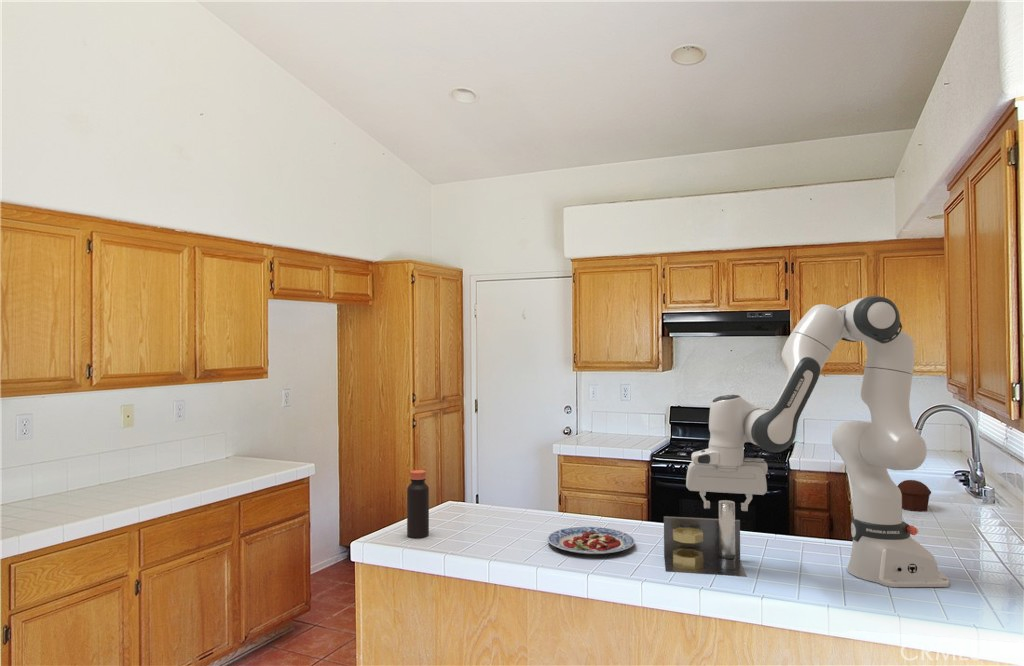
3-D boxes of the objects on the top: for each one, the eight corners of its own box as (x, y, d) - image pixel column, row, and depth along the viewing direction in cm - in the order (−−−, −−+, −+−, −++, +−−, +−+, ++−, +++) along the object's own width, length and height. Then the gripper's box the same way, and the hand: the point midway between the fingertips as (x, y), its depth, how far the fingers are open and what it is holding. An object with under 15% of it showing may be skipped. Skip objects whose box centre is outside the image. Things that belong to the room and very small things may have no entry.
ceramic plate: (584, 528, 214) (584, 519, 214) (652, 546, 196) (652, 536, 196) (529, 546, 196) (529, 536, 196) (598, 567, 178) (598, 555, 178)
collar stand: (739, 564, 179) (739, 519, 179) (747, 581, 166) (746, 533, 166) (664, 559, 183) (663, 516, 183) (665, 576, 170) (665, 529, 170)
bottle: (422, 539, 202) (422, 474, 203) (403, 537, 205) (403, 472, 205) (432, 533, 209) (432, 470, 209) (413, 531, 211) (413, 468, 211)
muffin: (891, 503, 245) (890, 477, 245) (924, 505, 242) (924, 478, 243) (901, 511, 234) (900, 483, 234) (936, 513, 231) (936, 485, 231)
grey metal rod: (734, 564, 175) (733, 500, 175) (736, 570, 171) (736, 504, 171) (718, 563, 176) (717, 499, 176) (719, 569, 172) (719, 503, 172)
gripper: (765, 456, 175) (765, 509, 174) (685, 453, 179) (685, 504, 179) (769, 460, 169) (769, 514, 168) (687, 456, 173) (686, 509, 172)
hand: (725, 509), depth 173 cm, fingers open, 8 cm apart
